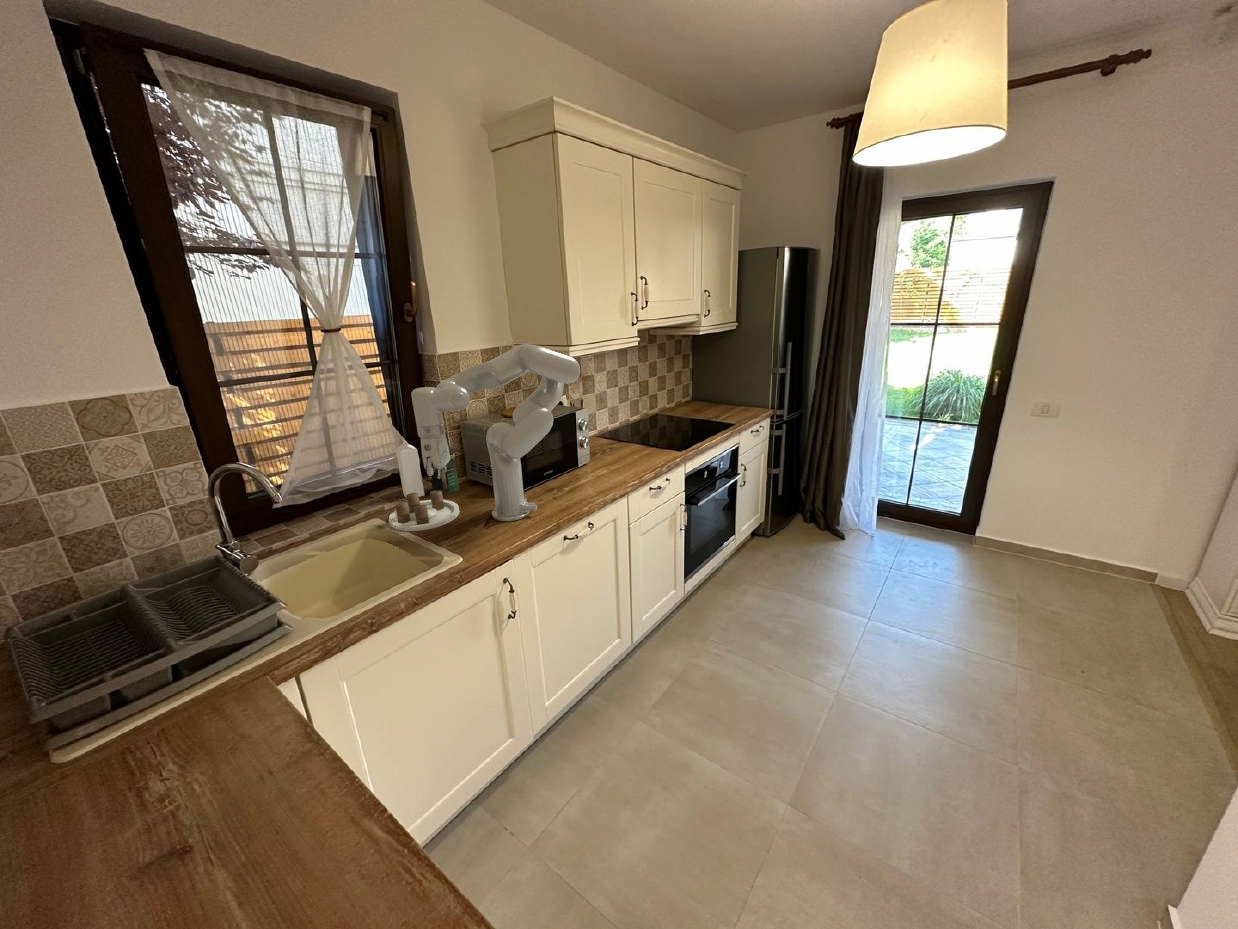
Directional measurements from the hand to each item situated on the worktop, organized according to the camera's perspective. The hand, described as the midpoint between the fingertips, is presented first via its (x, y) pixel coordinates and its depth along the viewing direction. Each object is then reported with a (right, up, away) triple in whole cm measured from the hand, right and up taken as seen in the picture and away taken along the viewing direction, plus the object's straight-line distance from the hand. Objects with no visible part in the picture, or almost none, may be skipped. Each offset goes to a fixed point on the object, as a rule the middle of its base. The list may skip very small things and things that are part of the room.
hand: (440, 486), depth 148 cm
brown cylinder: (-8, -8, +19) cm, 22 cm away
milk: (-21, -6, +32) cm, 39 cm away
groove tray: (-10, -11, +14) cm, 21 cm away
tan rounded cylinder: (0, -1, 0) cm, 1 cm away
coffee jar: (-11, -4, +37) cm, 39 cm away
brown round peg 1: (-16, -12, +10) cm, 22 cm away
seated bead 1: (-15, -9, +17) cm, 25 cm away
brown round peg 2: (-8, -12, +8) cm, 17 cm away
